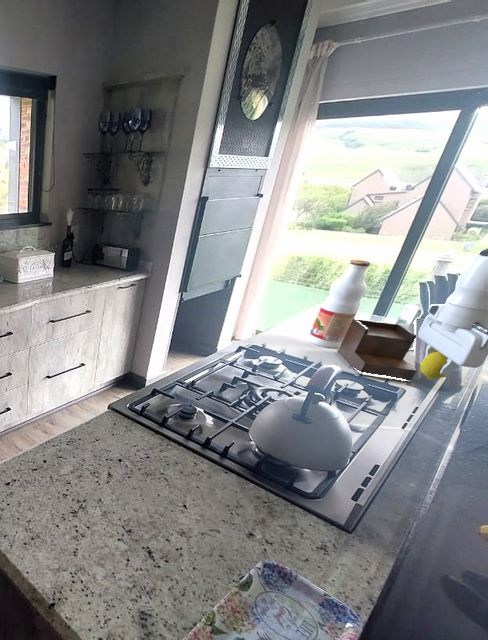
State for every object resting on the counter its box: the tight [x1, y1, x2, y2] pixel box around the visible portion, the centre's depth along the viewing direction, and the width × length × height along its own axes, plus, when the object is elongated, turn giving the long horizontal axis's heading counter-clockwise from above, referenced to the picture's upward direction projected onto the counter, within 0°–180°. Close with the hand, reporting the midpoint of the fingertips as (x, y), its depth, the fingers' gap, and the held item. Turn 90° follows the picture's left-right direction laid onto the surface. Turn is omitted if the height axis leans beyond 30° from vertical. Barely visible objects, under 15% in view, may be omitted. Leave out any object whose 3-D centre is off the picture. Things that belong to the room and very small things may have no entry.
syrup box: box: [395, 303, 421, 352], centre depth 135 cm, size 6×6×14 cm
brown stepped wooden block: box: [337, 318, 418, 384], centre depth 122 cm, size 12×18×12 cm, turn 159°
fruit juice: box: [307, 259, 371, 349], centre depth 133 cm, size 9×9×28 cm
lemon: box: [420, 351, 448, 380], centre depth 103 cm, size 6×6×8 cm
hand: (435, 368), depth 103 cm, fingers closed on lemon, 5 cm apart
